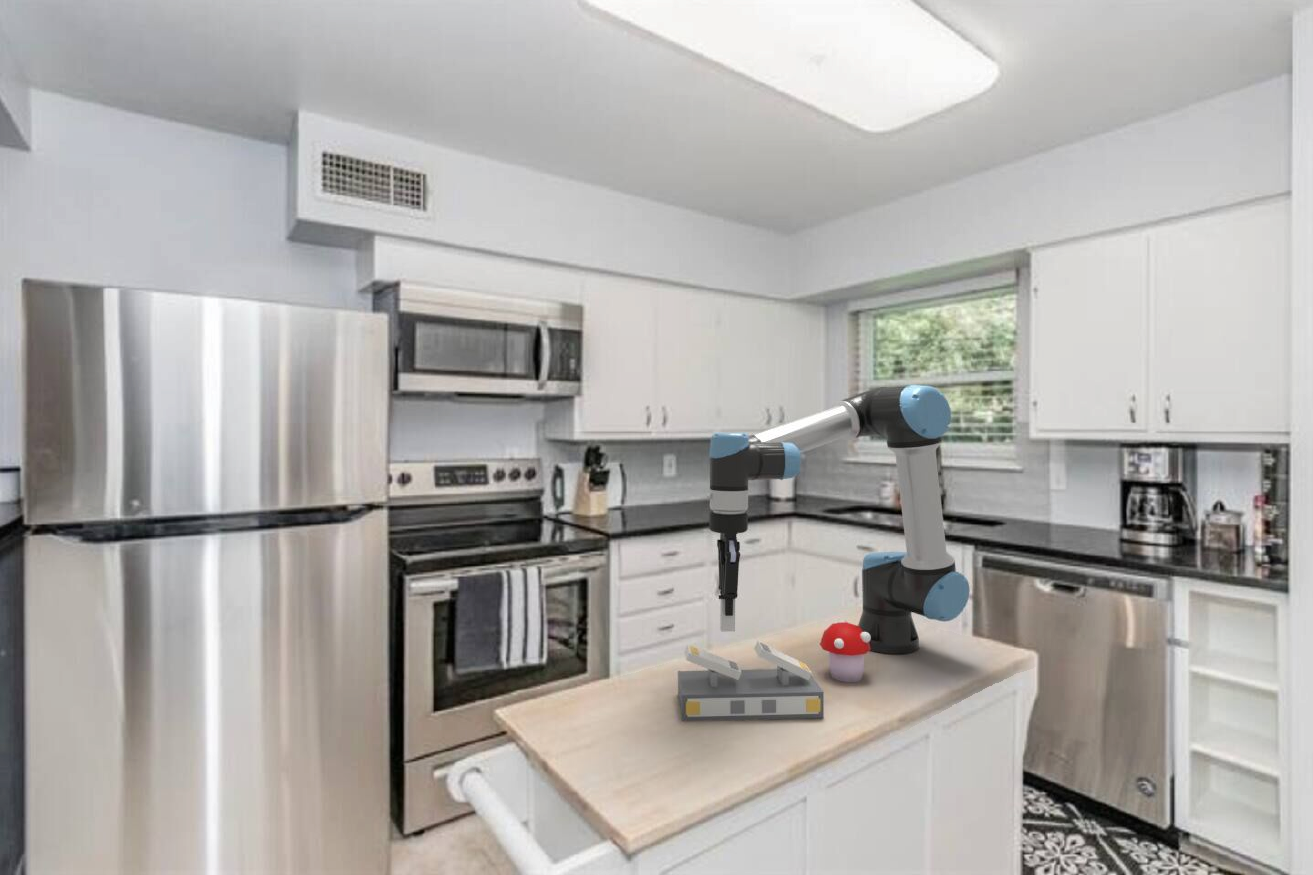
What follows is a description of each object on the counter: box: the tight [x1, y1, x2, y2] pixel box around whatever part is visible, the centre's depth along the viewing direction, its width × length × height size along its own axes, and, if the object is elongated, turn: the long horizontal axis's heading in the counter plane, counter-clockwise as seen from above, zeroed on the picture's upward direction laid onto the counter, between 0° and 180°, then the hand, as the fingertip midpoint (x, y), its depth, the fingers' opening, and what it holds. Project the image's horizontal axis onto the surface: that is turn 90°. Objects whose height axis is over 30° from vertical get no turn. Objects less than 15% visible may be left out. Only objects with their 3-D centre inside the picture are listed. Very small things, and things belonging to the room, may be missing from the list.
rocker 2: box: [753, 641, 813, 681], centre depth 133 cm, size 11×5×2 cm, turn 93°
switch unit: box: [677, 665, 825, 722], centre depth 132 cm, size 27×12×8 cm, turn 92°
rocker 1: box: [684, 644, 742, 680], centre depth 132 cm, size 11×5×2 cm, turn 92°
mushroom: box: [819, 618, 871, 683], centre depth 147 cm, size 11×11×12 cm
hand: (727, 630), depth 132 cm, fingers closed
